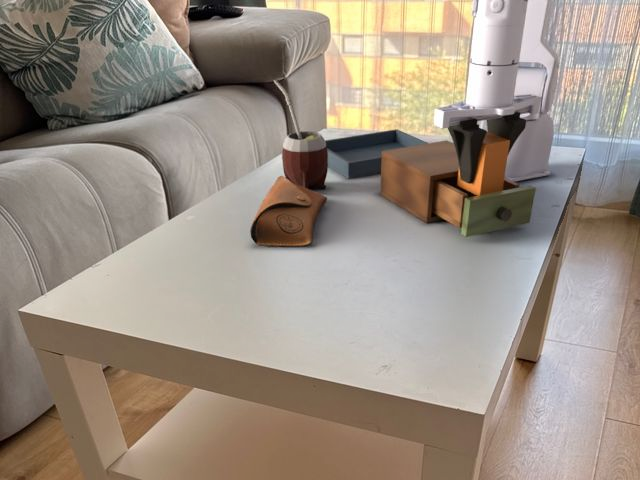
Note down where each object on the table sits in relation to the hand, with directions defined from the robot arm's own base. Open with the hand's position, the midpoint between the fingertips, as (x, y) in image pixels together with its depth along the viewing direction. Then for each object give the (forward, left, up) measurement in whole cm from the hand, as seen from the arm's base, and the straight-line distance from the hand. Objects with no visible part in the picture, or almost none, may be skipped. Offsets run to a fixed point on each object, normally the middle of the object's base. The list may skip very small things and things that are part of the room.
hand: (479, 178), depth 84 cm
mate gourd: (+15, -25, -6) cm, 30 cm away
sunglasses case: (+22, -13, -6) cm, 26 cm away
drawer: (0, 0, -5) cm, 5 cm away
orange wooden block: (0, 0, -1) cm, 1 cm away
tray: (-2, -33, -6) cm, 33 cm away
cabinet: (0, -10, -6) cm, 11 cm away
